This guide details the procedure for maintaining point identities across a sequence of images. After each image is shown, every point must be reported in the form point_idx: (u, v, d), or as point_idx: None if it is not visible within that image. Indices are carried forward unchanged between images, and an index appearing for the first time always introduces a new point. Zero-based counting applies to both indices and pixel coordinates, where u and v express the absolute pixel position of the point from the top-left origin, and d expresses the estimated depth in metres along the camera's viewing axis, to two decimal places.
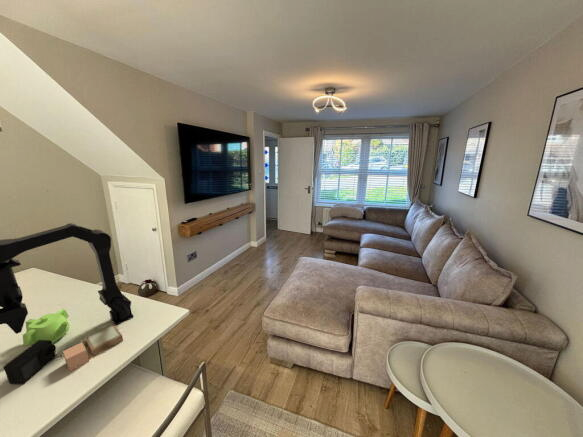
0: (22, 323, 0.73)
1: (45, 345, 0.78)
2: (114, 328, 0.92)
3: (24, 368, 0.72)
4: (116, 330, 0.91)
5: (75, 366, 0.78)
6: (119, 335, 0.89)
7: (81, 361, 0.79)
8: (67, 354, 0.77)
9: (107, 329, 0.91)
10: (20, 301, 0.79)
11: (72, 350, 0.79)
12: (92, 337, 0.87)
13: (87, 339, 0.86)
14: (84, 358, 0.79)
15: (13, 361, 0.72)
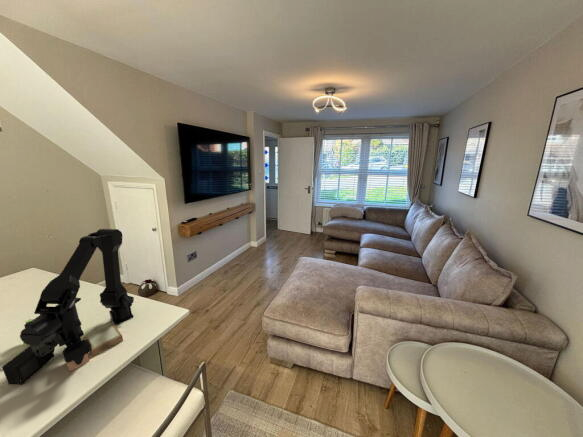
0: (83, 355, 0.78)
1: None
2: (114, 328, 0.92)
3: (23, 368, 0.72)
4: (116, 330, 0.91)
5: (75, 366, 0.78)
6: (119, 335, 0.89)
7: None
8: None
9: (107, 329, 0.91)
10: (79, 337, 0.82)
11: None
12: (92, 337, 0.87)
13: (87, 339, 0.86)
14: (84, 358, 0.79)
15: (12, 361, 0.72)
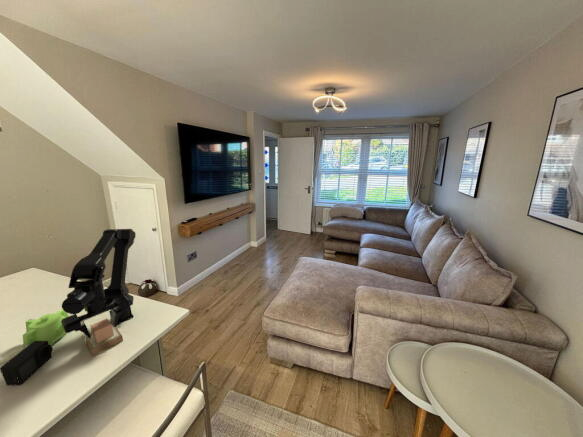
0: (85, 334, 0.82)
1: (42, 345, 0.78)
2: (114, 328, 0.92)
3: (21, 369, 0.72)
4: (116, 330, 0.91)
5: (93, 336, 0.86)
6: (119, 335, 0.89)
7: (94, 337, 0.85)
8: (98, 323, 0.87)
9: None
10: (115, 316, 0.88)
11: (101, 323, 0.87)
12: (92, 337, 0.87)
13: (87, 339, 0.86)
14: (95, 337, 0.85)
15: (10, 362, 0.72)
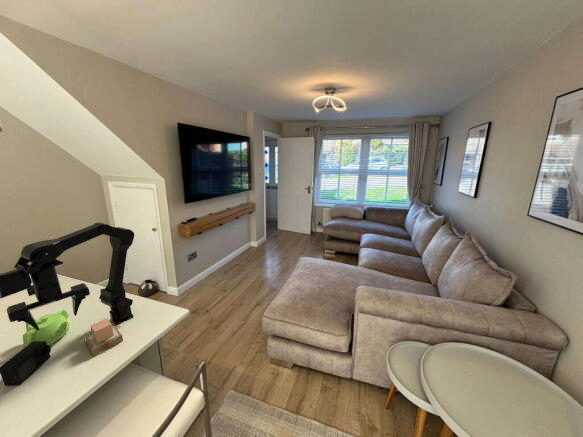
0: (31, 325, 0.74)
1: (40, 346, 0.78)
2: (114, 328, 0.92)
3: (20, 369, 0.72)
4: (116, 330, 0.91)
5: (93, 336, 0.86)
6: (119, 335, 0.89)
7: (94, 337, 0.85)
8: (98, 323, 0.87)
9: None
10: (74, 303, 0.81)
11: (101, 323, 0.87)
12: (92, 337, 0.87)
13: (87, 339, 0.86)
14: (95, 337, 0.85)
15: (8, 363, 0.71)
